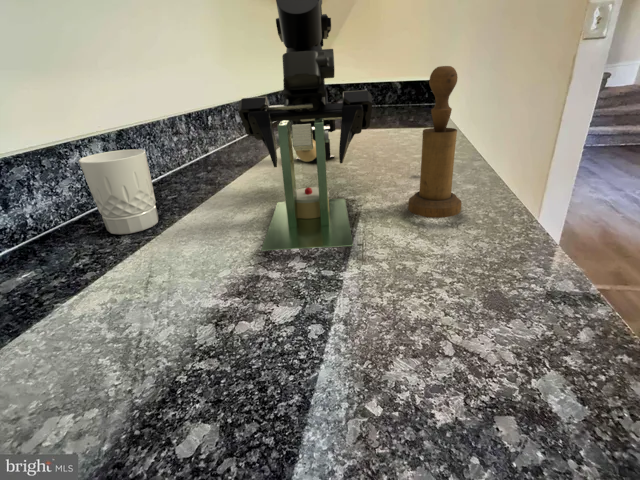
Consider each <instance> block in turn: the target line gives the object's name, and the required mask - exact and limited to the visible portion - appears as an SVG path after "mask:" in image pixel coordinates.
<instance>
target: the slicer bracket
mask: <svg viewBox="0 0 640 480" xmlns="http://www.w3.org/2000/svg"><path fill="white" fill-rule="evenodd" d="M324 126H325V125H324V120H323V118H316V119H315V123H314V126H313V127H315V142H316V157H317V163H316V170H317V173H316V174H317V186H318V187H317V188H319V203H320V217H318V218H313V219H301V218H298V212H297V202H296V198H297V192H296V190H297V184H296V183H297V182H296V172H295V162H294V161H295V160H294V151H293V150H294V147H293V142H292V126H291V120H282V121H279V123H278V124H277V132H276V133H275V142H276V146H279V152H280V162H281V170H282V179H283V190H284V199H285V201H277V203H276V206H275V208H274V212H273V215H272V217H271V220H270V223H269V227H268V228H267V232H266V235H265V238H264V241H263V244H262V247H261V250H260V251H264V252H265V251H281V250H299V249H318V248H338V247H354V241H353V237H352V231H351V225H350V219H349V214H348V208H347V202H346V198H345V197H344V198H343V197H342V198H329V211H328V192H327V190H328V179H327V178H328V177H327V160H326V156H325V143H326V142H329V139H330V137H329V136H330V132H328V130H324Z"/></svg>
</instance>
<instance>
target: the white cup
mask: <svg viewBox="0 0 640 480" xmlns="http://www.w3.org/2000/svg"><path fill="white" fill-rule="evenodd" d="M146 153H147V152H146V150H144V149H139V148H138V149H137V148H135V149H134V148H132V149H119V150H111V151H105V152H97V153H95V154H91V155H90V154H89V155H87V156H83V157H81V158H79V159H78V164H79V166H80V169H81V170H82V174H83V176H84V178H85V180H86V183H87V186H88V188H89V191H90V194H91V196H92V199H93V200H94V202H95V204H96V205H95V206H96V208H97V210H98V212H99V214H100V215H101V218H102V220H103V224H104V226H105V229H106V231H107V232H108V233H110V234H112V235H128V234H135V233H138V232H142V231H145V230H148V229H150V228H152V227H154V226H155V225H157V224H158V223H159V220H160V219H159V213H158V209H157V205H156V203H157V201H156V197H155V192H154V191H155V190H154V185H153V179H152V176H151V172H150V167H149V162H148V158H147V154H146Z"/></svg>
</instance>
